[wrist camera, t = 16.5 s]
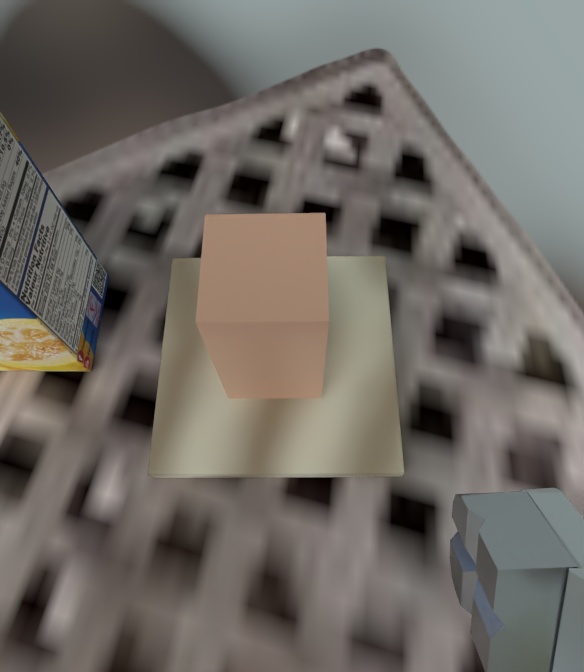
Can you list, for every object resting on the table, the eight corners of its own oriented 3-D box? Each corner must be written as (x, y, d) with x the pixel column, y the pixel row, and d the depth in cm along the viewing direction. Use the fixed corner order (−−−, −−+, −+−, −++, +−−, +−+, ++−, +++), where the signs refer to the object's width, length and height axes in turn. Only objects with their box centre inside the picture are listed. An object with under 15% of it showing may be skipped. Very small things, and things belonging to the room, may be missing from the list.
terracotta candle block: (228, 398, 30) (195, 322, 21) (232, 315, 32) (205, 214, 23) (321, 398, 30) (329, 321, 21) (319, 315, 32) (325, 212, 23)
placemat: (153, 477, 29) (147, 474, 28) (176, 268, 35) (172, 258, 34) (400, 477, 29) (404, 473, 28) (382, 265, 35) (384, 255, 34)
